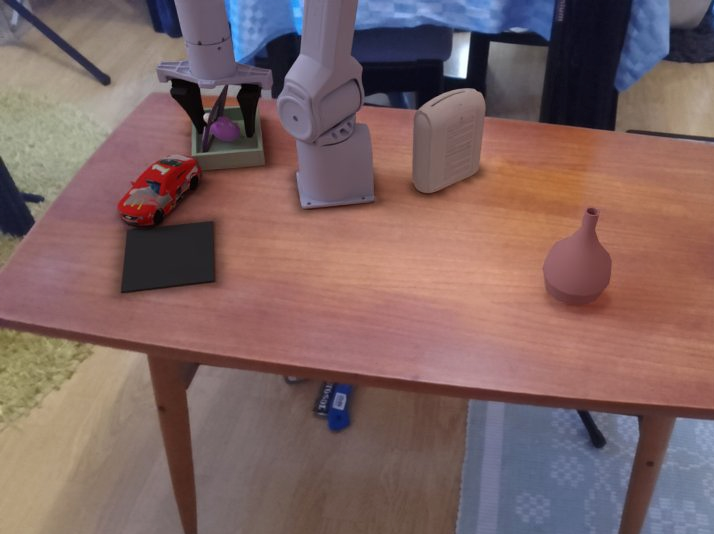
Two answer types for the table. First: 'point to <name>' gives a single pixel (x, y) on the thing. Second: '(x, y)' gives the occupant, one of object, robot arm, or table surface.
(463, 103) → the photo printer
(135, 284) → the charcoal mat
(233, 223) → the table surface
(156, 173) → the race car
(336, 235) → the table surface
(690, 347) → the table surface
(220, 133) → the purple finned figure
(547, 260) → the brown bulb vase
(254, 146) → the sage tray
